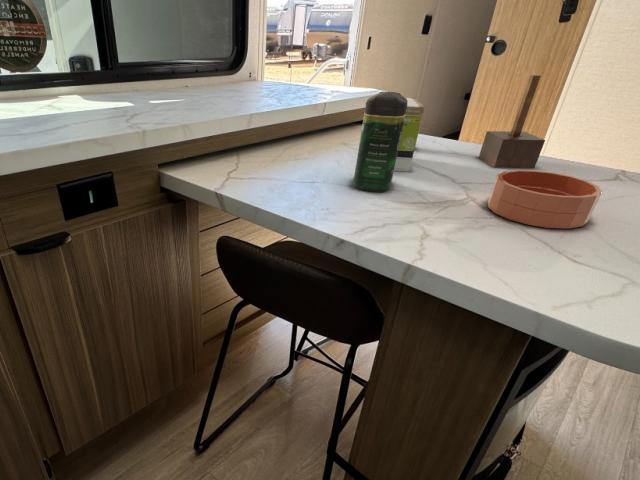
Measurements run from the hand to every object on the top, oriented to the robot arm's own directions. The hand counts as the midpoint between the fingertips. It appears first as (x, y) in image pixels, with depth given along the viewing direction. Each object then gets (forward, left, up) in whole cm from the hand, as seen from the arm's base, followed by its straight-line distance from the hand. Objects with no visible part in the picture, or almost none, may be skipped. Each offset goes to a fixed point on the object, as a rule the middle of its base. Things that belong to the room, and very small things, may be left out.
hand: (566, 18), depth 91 cm
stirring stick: (+4, +3, -31) cm, 31 cm away
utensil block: (+4, +3, -31) cm, 31 cm away
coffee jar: (+41, +24, -31) cm, 57 cm away
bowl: (+14, +38, -31) cm, 51 cm away
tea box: (+34, +5, -31) cm, 46 cm away
